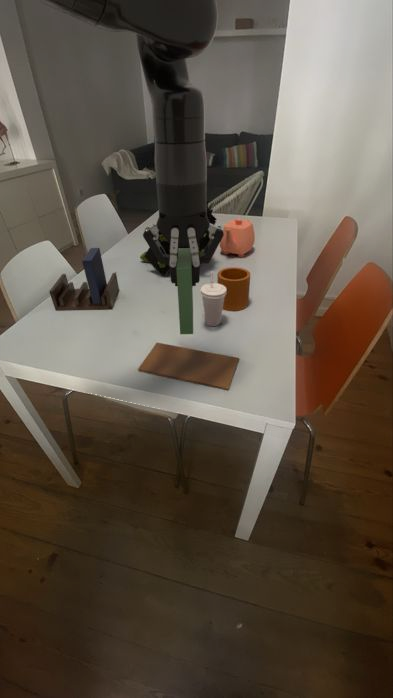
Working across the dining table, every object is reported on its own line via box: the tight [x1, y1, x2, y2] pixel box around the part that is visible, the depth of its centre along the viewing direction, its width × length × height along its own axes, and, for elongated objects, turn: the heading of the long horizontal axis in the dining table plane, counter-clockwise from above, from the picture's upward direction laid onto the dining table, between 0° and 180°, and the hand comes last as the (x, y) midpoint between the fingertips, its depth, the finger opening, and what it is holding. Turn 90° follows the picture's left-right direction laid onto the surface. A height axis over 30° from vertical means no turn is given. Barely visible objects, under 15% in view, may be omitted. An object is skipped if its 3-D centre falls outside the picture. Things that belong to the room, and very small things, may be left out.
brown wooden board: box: [137, 342, 240, 391], centre depth 69 cm, size 20×10×1 cm, turn 72°
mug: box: [217, 266, 251, 312], centre depth 89 cm, size 9×12×9 cm
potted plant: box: [139, 200, 218, 278], centre depth 104 cm, size 21×22×30 cm
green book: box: [176, 248, 194, 335], centre depth 59 cm, size 2×9×13 cm, turn 1°
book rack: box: [48, 272, 120, 311], centre depth 92 cm, size 16×11×6 cm
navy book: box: [81, 247, 108, 305], centre depth 89 cm, size 2×9×13 cm, turn 1°
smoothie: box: [200, 271, 227, 327], centre depth 79 cm, size 6×6×14 cm
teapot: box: [219, 217, 256, 258], centre depth 117 cm, size 20×12×12 cm, turn 152°
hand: (185, 283), depth 58 cm, fingers closed on green book, 2 cm apart
